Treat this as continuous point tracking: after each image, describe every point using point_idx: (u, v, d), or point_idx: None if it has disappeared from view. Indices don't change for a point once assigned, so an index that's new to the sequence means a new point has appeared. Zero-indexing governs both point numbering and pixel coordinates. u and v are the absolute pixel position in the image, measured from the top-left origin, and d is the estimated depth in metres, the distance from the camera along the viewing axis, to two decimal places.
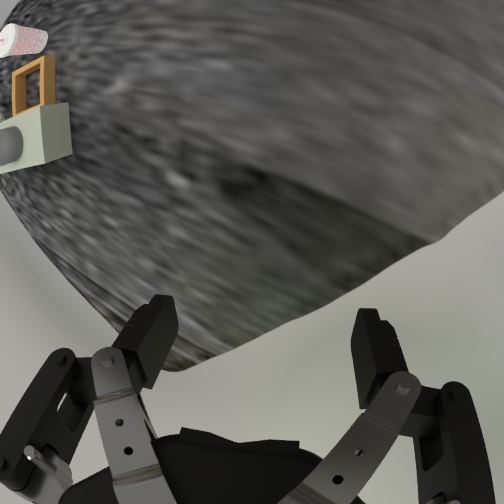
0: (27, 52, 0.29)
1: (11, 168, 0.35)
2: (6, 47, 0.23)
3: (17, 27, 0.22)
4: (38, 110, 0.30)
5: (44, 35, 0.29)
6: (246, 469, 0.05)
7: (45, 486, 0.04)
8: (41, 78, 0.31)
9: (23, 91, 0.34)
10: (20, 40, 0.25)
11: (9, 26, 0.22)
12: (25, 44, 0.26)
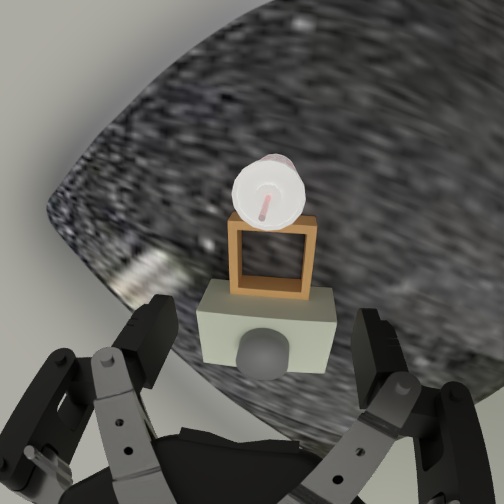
0: None
1: None
2: (275, 215, 0.25)
3: None
4: (332, 326, 0.32)
5: None
6: (246, 469, 0.05)
7: (45, 486, 0.04)
8: (308, 259, 0.33)
9: (240, 247, 0.36)
10: None
11: (279, 169, 0.23)
12: None
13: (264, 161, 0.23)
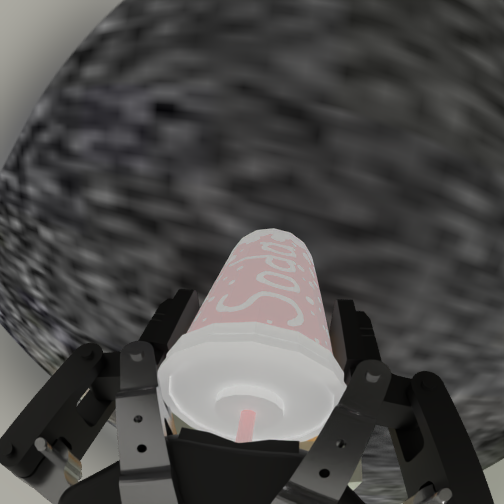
0: None
1: None
2: (267, 429, 0.09)
3: None
4: (354, 484, 0.16)
5: None
6: (246, 469, 0.05)
7: (51, 478, 0.05)
8: None
9: None
10: None
11: (280, 360, 0.07)
12: None
13: (232, 341, 0.07)
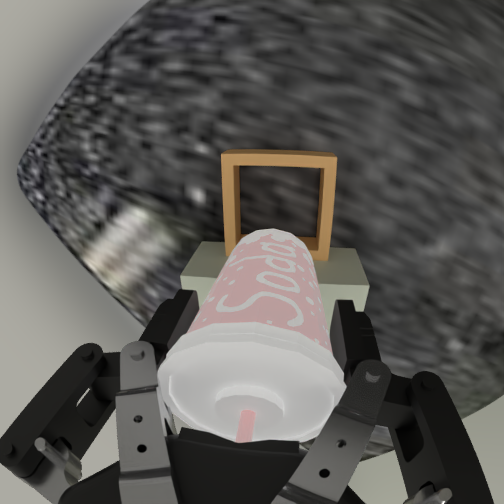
0: None
1: None
2: (267, 429, 0.09)
3: None
4: (363, 292, 0.23)
5: None
6: (246, 469, 0.05)
7: (51, 478, 0.05)
8: (326, 203, 0.25)
9: (238, 194, 0.27)
10: None
11: (279, 361, 0.07)
12: None
13: (232, 342, 0.07)
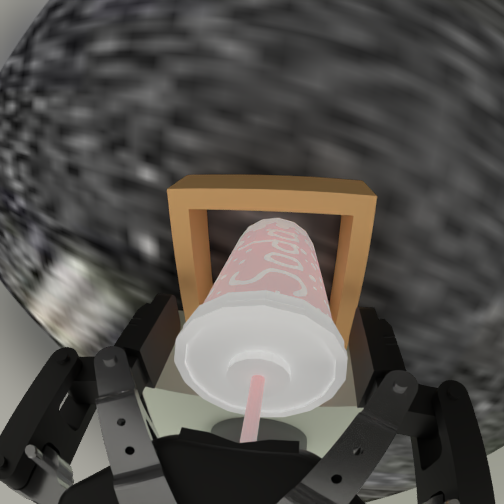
0: None
1: None
2: (274, 398, 0.10)
3: (337, 335, 0.09)
4: None
5: None
6: (246, 469, 0.05)
7: (45, 485, 0.04)
8: (352, 275, 0.14)
9: (205, 250, 0.17)
10: None
11: (287, 324, 0.09)
12: None
13: (246, 306, 0.08)
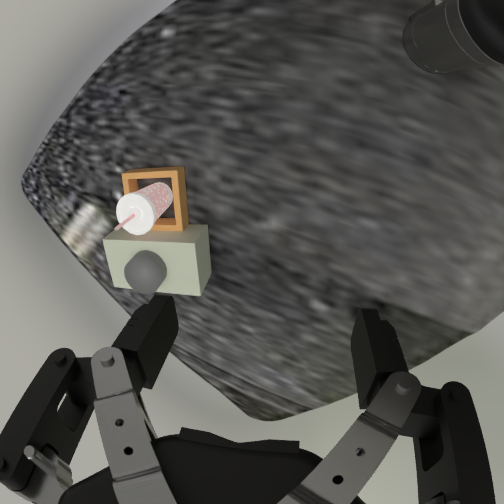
0: None
1: None
2: (140, 225, 0.39)
3: (151, 203, 0.38)
4: (192, 247, 0.41)
5: (170, 194, 0.45)
6: (246, 469, 0.05)
7: (45, 486, 0.04)
8: (175, 197, 0.43)
9: None
10: (156, 217, 0.40)
11: (137, 198, 0.37)
12: (158, 216, 0.42)
13: (129, 194, 0.37)
